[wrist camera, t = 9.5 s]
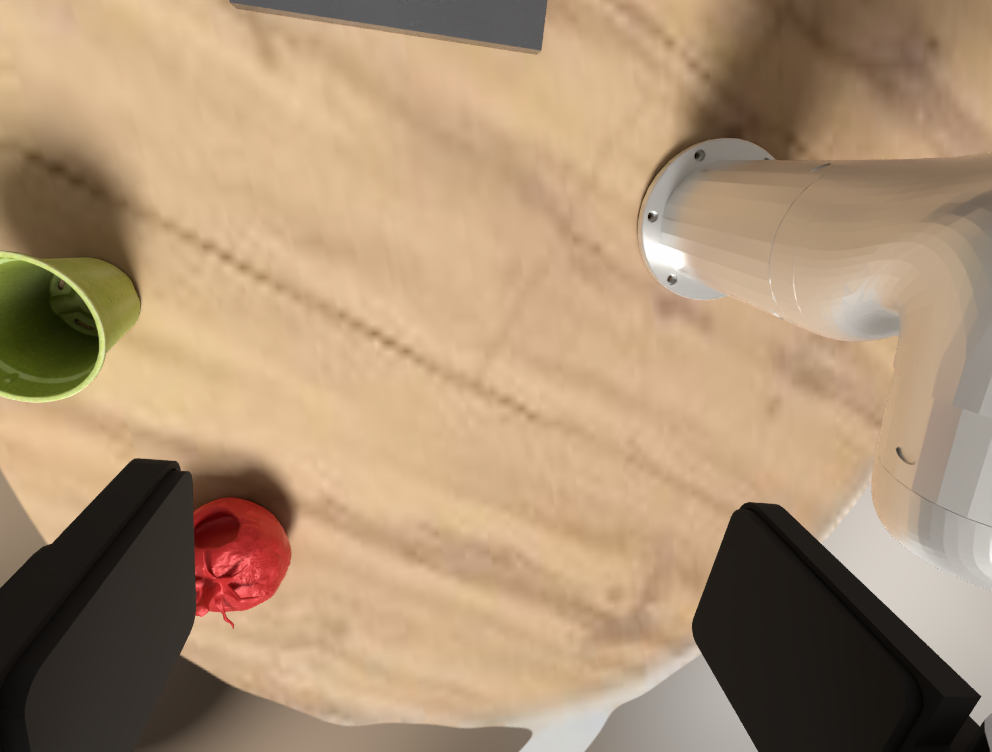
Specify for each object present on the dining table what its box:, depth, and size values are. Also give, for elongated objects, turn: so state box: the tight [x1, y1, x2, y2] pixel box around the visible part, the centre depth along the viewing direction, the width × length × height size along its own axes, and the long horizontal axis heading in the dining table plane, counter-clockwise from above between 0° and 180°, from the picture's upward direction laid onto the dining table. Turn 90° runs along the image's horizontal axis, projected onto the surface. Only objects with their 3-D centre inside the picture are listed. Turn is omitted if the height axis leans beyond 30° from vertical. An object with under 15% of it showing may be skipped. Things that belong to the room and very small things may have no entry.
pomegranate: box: [193, 497, 291, 629], centre depth 45 cm, size 10×10×9 cm
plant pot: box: [0, 251, 140, 403], centre depth 37 cm, size 9×9×9 cm
